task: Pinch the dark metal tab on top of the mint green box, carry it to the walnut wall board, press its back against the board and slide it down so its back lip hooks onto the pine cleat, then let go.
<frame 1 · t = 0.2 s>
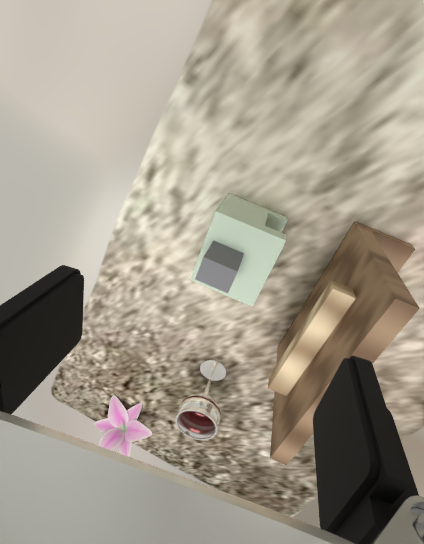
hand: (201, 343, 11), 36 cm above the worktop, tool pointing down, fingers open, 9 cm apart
wineglass: (213, 369, 61), on the worktop
wall board: (317, 294, 49), on the worktop
mint green box: (235, 232, 48), on the worktop
lily: (131, 410, 72), on the worktop
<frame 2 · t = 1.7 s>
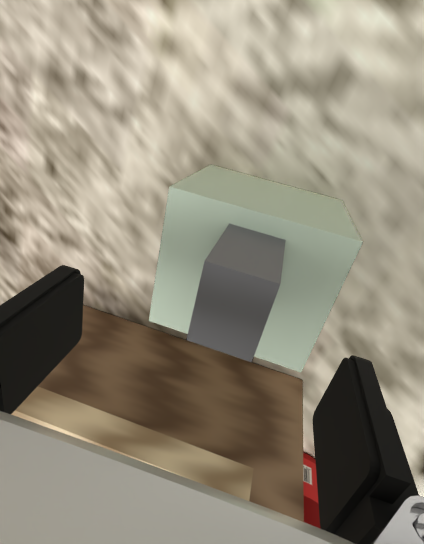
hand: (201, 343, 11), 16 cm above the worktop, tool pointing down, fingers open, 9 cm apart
wall board: (182, 347, 33), on the worktop
mint green box: (263, 219, 26), on the worktop
canned food: (289, 467, 37), on the worktop
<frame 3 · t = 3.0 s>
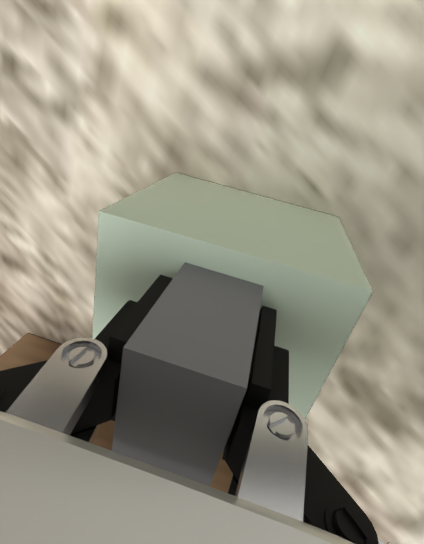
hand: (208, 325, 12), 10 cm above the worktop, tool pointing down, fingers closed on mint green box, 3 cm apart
wall board: (153, 384, 28), on the worktop
mint green box: (242, 239, 21), on the worktop, touching gripper
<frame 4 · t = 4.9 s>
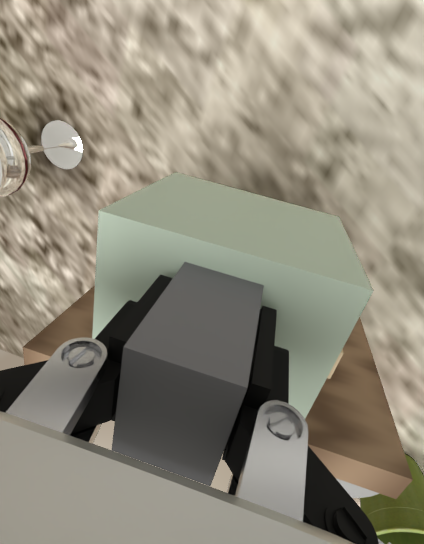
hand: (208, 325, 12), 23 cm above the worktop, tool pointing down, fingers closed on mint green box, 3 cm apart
wineglass: (63, 145, 36), on the worktop
wall board: (245, 275, 37), on the worktop
mint green box: (242, 239, 21), point 14 cm above the worktop, touching gripper
canned food: (335, 388, 41), on the worktop
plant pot: (387, 464, 45), on the worktop
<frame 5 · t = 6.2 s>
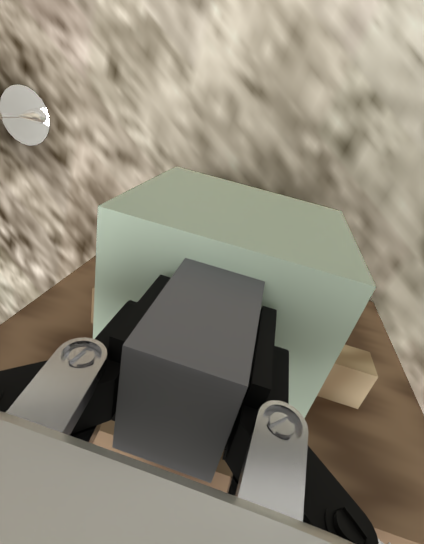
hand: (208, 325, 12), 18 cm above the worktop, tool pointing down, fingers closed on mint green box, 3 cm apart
wineglass: (26, 116, 30), on the worktop
wall board: (244, 274, 31), on the worktop
mint green box: (243, 234, 21), point 9 cm above the worktop, touching gripper
when the fingers open (17 cm above the worktop, at t = 7.1 s): mint green box stays where it is, resting on wall board.
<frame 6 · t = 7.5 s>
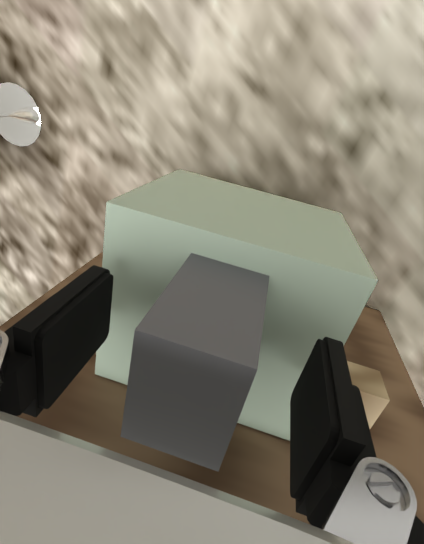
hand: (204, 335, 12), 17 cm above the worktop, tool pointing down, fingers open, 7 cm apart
wineglass: (16, 115, 28), on the worktop
wall board: (244, 281, 30), on the worktop
mint green box: (245, 236, 21), point 7 cm above the worktop, touching wall board
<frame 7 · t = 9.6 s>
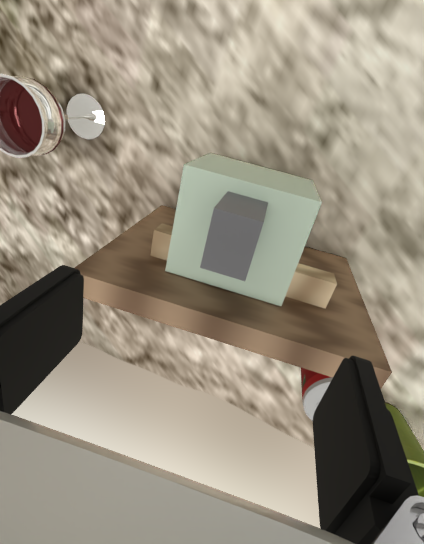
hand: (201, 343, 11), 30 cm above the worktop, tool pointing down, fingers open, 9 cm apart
wineglass: (86, 117, 39), on the worktop
wall board: (249, 238, 41), on the worktop
mint green box: (252, 197, 32), point 7 cm above the worktop, touching wall board
canned food: (329, 344, 46), on the worktop
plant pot: (374, 416, 50), on the worktop
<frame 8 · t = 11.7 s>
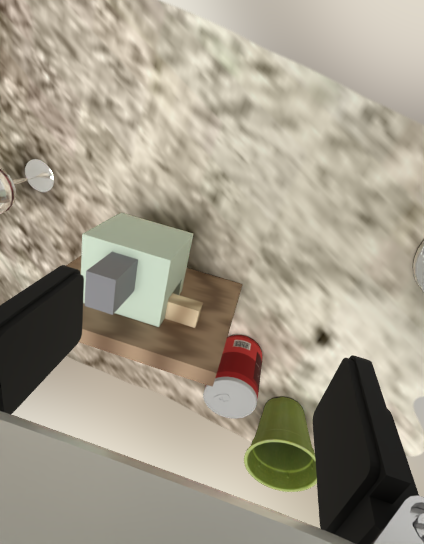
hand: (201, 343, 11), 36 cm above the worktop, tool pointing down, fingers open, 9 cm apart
wineglass: (40, 175, 51), on the worktop
wall board: (169, 268, 53), on the worktop
mint green box: (153, 243, 43), point 7 cm above the worktop, touching wall board
canned food: (240, 350, 57), on the worktop
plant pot: (283, 409, 61), on the worktop
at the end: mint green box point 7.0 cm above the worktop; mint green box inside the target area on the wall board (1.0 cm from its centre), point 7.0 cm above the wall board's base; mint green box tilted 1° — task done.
